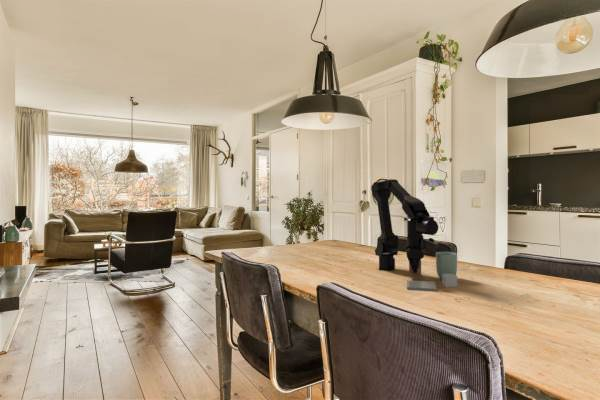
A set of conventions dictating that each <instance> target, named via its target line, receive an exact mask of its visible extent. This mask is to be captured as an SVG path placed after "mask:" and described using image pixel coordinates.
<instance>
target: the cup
mask: <svg viewBox="0 0 600 400" xmlns="http://www.w3.org/2000/svg"><path fill="white" fill-rule="evenodd" d="M435 268H436V274H437V277H438V278H440V279H442V274H454V275H456V276H457V272H458V253H456V252H452V251H436V252H435Z"/></svg>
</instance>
